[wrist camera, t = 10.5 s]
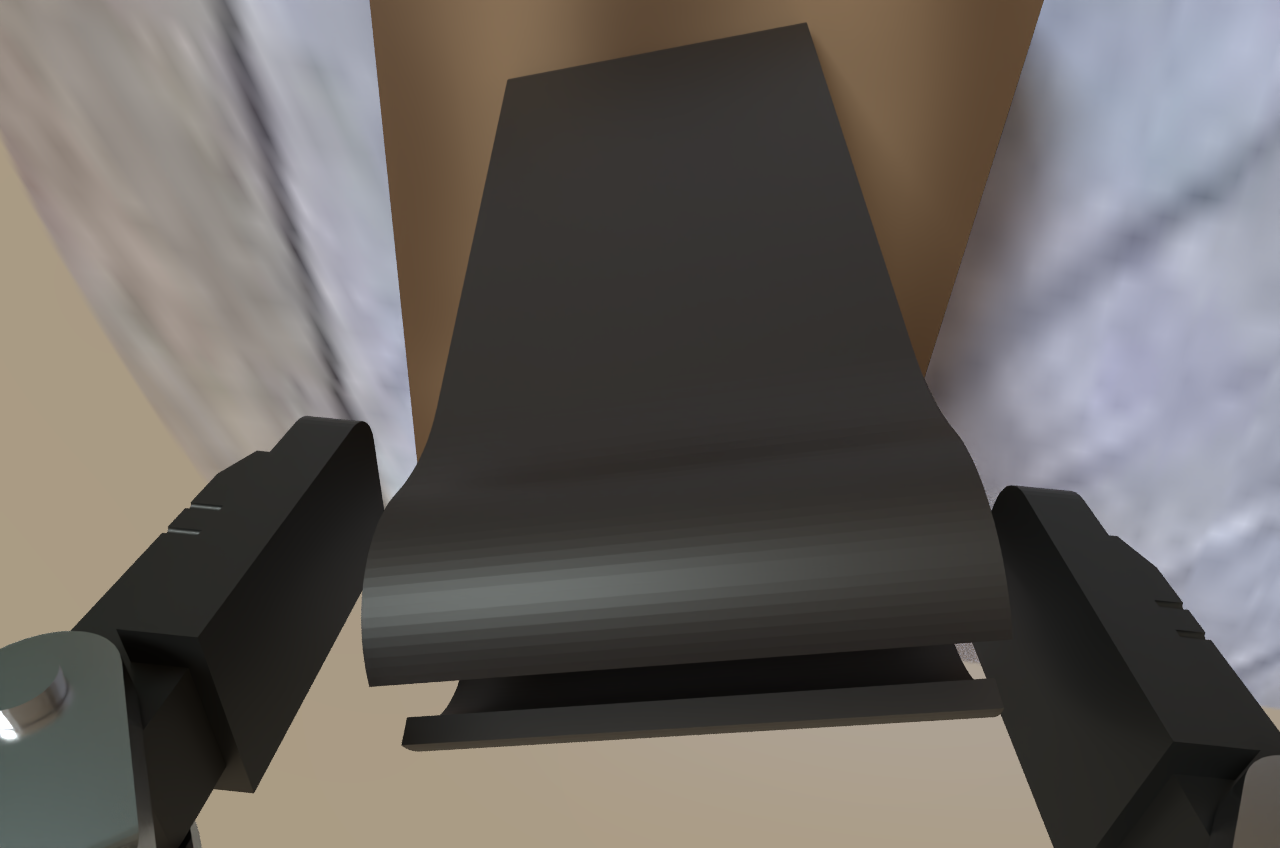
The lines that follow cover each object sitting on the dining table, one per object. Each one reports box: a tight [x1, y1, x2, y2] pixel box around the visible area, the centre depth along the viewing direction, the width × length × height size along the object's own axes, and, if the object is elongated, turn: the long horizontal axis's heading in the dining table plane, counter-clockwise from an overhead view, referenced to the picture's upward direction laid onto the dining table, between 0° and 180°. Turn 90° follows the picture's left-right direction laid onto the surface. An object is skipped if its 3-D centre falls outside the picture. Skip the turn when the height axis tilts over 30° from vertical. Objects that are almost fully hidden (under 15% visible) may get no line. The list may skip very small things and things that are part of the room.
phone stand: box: [361, 22, 1013, 751], centre depth 12 cm, size 9×6×12 cm, turn 9°
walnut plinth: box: [370, 0, 1044, 463], centre depth 19 cm, size 13×13×4 cm
